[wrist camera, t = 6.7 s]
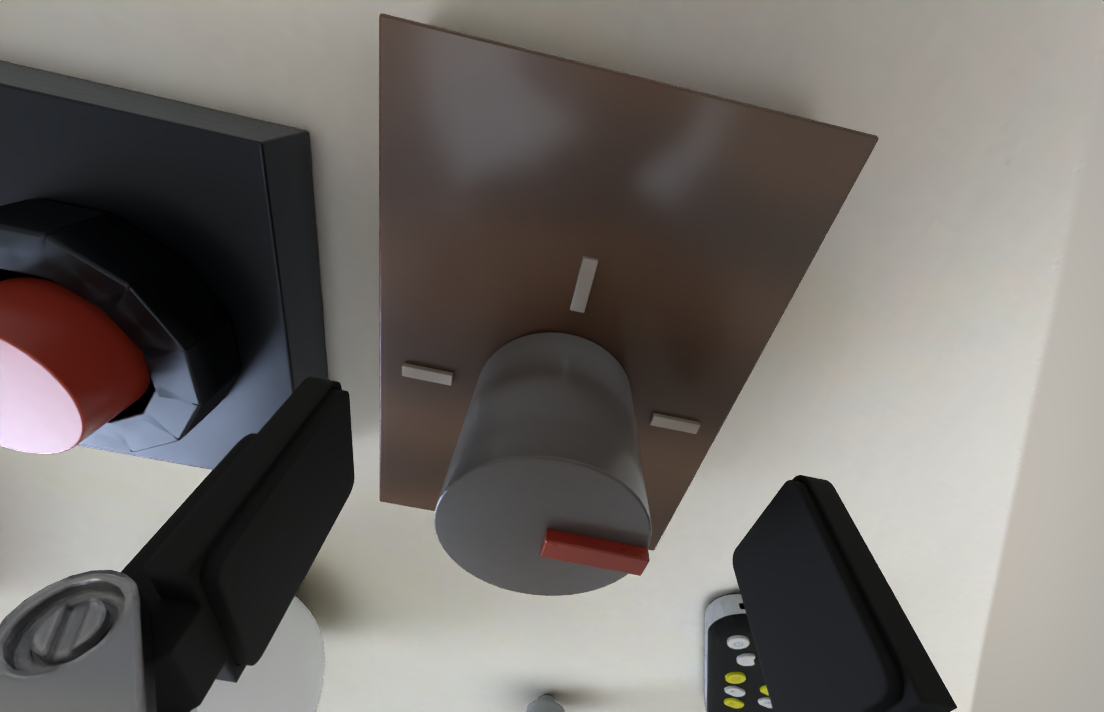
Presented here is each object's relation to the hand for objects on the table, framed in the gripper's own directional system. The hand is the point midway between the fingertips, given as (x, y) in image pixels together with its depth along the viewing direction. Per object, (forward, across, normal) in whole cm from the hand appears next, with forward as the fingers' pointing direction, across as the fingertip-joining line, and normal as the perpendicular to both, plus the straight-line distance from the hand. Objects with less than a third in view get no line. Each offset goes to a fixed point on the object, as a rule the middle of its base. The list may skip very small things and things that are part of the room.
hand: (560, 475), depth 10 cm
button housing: (+6, +13, +2) cm, 15 cm away
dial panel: (+6, 0, 0) cm, 7 cm away
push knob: (+3, +13, +2) cm, 14 cm away
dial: (+3, 0, +1) cm, 3 cm away
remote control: (+6, -15, +18) cm, 24 cm away
